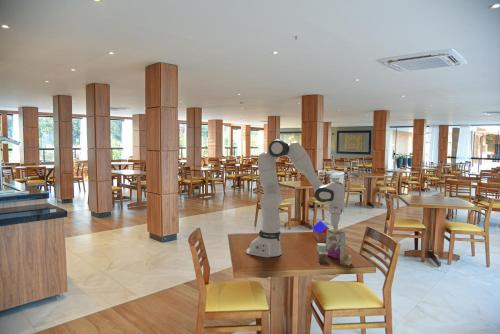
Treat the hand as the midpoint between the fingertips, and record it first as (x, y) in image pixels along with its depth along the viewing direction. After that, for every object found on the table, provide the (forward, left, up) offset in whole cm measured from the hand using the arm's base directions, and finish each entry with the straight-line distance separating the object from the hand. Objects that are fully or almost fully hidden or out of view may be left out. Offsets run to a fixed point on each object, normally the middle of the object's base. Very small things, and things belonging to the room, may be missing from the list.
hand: (335, 230), depth 210 cm
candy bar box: (0, 0, -17) cm, 17 cm away
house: (-11, +39, -17) cm, 44 cm away
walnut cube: (-6, -11, -17) cm, 21 cm away
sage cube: (-9, +7, -17) cm, 20 cm away
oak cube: (+7, -11, -17) cm, 21 cm away
